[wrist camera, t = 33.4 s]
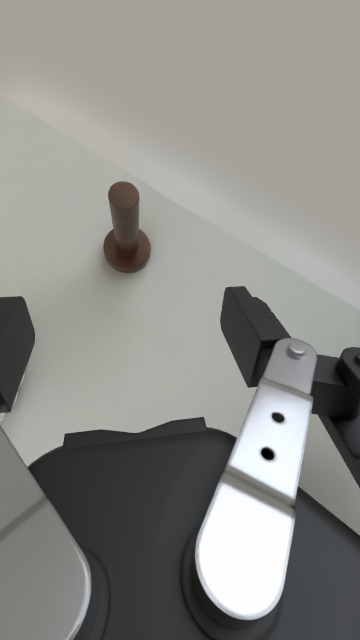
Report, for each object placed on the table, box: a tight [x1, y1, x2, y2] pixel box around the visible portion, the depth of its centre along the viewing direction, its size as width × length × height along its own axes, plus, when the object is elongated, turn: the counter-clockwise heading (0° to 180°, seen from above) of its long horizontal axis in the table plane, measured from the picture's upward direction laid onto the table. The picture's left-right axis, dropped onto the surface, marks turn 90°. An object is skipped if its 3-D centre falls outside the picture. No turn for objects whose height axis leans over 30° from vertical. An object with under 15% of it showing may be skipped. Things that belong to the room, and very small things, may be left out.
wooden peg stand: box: [104, 182, 151, 273], centre depth 26 cm, size 5×5×10 cm
